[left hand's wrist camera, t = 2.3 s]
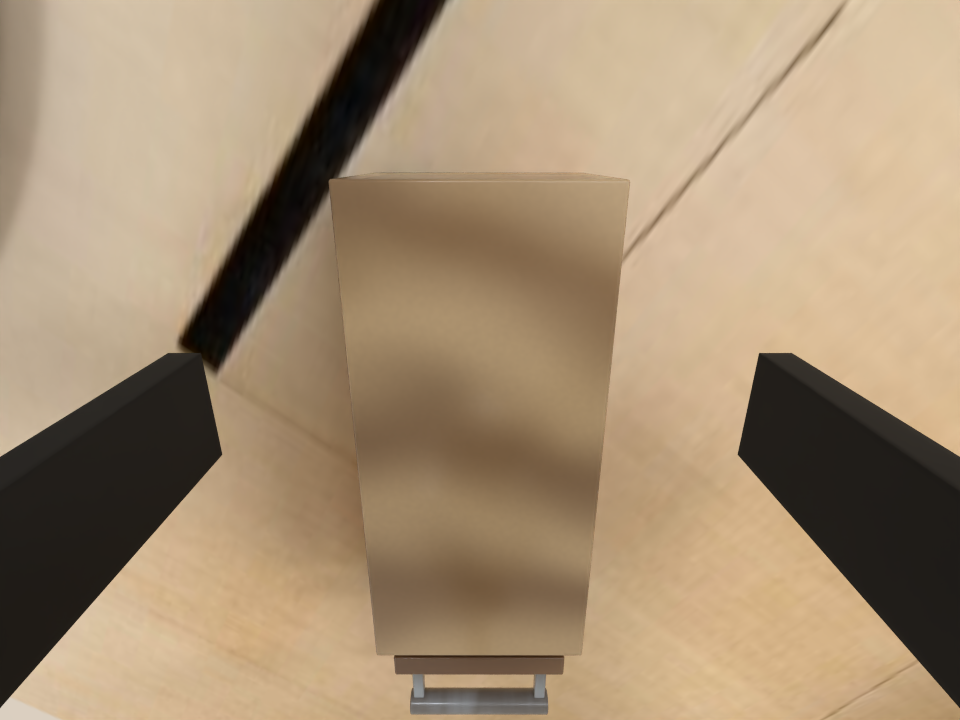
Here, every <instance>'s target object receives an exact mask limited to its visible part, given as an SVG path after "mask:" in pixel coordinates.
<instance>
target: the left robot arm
mask: <svg viewBox="0 0 960 720" xmlns="http://www.w3.org/2000/svg"><path fill="white" fill-rule="evenodd" d="M221 455H222V451H221V446H220V442H219V437H218V432H217V427H216V423H215V418H214V413H213V409H212V404H211V399H210V394H209V390H208V385H207V380H206V375H205V371H204V366H203V361H202V356H201V353H168V354H166V355H164V356H163V357H161V358H160V359H158V360H156V361H155V362H153V363H152V364H150V365H148V366H147V367H145V368H143V369H142V370H140V371H139V372H137V373H135V374H134V375H132V376H130V377H129V378H127V379H126V380H124V381H122V382H121V383H119V384H118V385H116V386H114V387H113V388H111V389H109V390H108V391H106V392H105V393H103V394H101V395H100V396H98V397H96V398H95V399H93V400H92V401H90V402H88V403H87V404H85V405H84V406H82V407H80V408H79V409H77V410H75V411H74V412H72V413H71V414H69V415H67V416H66V417H64V418H62V419H61V420H59V421H58V422H56V423H54V424H53V425H51V426H50V427H48V428H46V429H45V430H43V431H41V432H40V433H38V434H37V435H35V436H33V437H32V438H30V439H28V440H27V441H25V442H24V443H22V444H20V445H19V446H17V447H16V448H14V449H12V450H11V451H9V452H7V453H6V454H4V455H3V456H1V457H0V708H1V706H2V705H3V704H4V703H5V702H6V701H7V700H8V698H9V697H10V696H11V695H12V694H13V693H14V692H15V690H16V689H17V688H18V687H19V686H20V685H21V684H22V682H23V681H24V680H25V679H26V678H27V677H28V676H29V674H30V673H31V672H32V671H33V670H34V669H35V668H36V666H37V665H38V664H39V663H40V662H41V661H42V660H43V658H44V657H45V656H46V655H47V654H48V653H49V652H50V650H51V649H52V648H53V647H54V646H55V645H56V644H57V642H58V641H59V640H60V639H61V638H62V637H63V636H64V635H65V633H66V632H67V631H68V630H69V629H70V628H71V627H72V625H73V624H74V623H75V622H76V621H77V620H78V619H79V617H80V616H81V615H82V614H83V613H84V612H85V611H86V609H87V608H88V607H89V606H90V605H91V604H92V603H93V601H94V600H95V599H96V598H97V597H98V596H99V595H100V593H101V592H102V591H103V590H104V589H105V588H106V587H107V585H108V584H109V583H110V582H111V581H112V580H113V579H114V577H115V576H116V575H117V574H118V573H119V572H120V571H121V570H122V568H123V567H124V566H125V565H126V564H127V563H128V562H129V560H130V559H131V558H132V557H133V556H134V555H135V554H136V552H137V551H138V550H139V549H140V548H141V547H142V546H143V544H144V543H145V542H146V541H147V540H148V539H149V538H150V536H151V535H152V534H153V533H154V532H155V531H156V530H157V528H158V527H159V526H160V525H161V524H162V523H163V522H164V520H165V519H166V518H167V517H168V516H169V515H170V514H171V512H172V511H173V510H174V509H175V508H176V507H177V506H178V504H179V503H180V502H181V501H182V500H183V499H184V498H185V497H186V495H187V494H188V493H189V492H190V491H191V490H192V489H193V487H194V486H195V485H196V484H197V483H198V482H199V481H200V479H201V478H202V477H203V476H204V475H205V474H206V473H207V471H208V470H209V469H210V468H211V467H212V466H213V465H214V463H215V462H216V461H217V460H218V459H219V458H220V457H221ZM738 455H739V457H740V458H741V459H742V460H743V461H744V462H745V463H746V465H747V466H748V467H749V468H750V469H751V470H752V471H753V473H754V474H755V475H756V476H757V477H758V478H759V479H760V481H761V482H762V483H763V484H764V485H765V486H766V487H767V489H768V490H769V491H770V492H771V493H772V494H773V495H774V497H775V498H776V499H777V500H778V501H779V502H780V503H781V505H782V506H783V507H784V508H785V509H786V510H787V511H788V512H789V514H790V515H791V516H792V517H793V518H794V519H795V520H796V522H797V523H798V524H799V525H800V526H801V527H802V528H803V530H804V531H805V532H806V533H807V534H808V535H809V536H810V538H811V539H812V540H813V541H814V542H815V543H816V544H817V546H818V547H819V548H820V549H821V550H822V551H823V552H824V554H825V555H826V556H827V557H828V558H829V559H830V560H831V562H832V563H833V564H834V565H835V566H836V567H837V568H838V570H839V571H840V572H841V573H842V574H843V575H844V576H845V577H846V579H847V580H848V581H849V582H850V583H851V584H852V585H853V587H854V588H855V589H856V590H857V591H858V592H859V593H860V595H861V596H862V597H863V598H864V599H865V600H866V601H867V603H868V604H869V605H870V606H871V607H872V608H873V609H874V611H875V612H876V613H877V614H878V615H879V616H880V617H881V619H882V620H883V621H884V622H885V623H886V624H887V625H888V627H889V628H890V629H891V630H892V631H893V632H894V633H895V635H896V636H897V637H898V638H899V639H900V640H901V641H902V642H903V644H904V645H905V646H906V647H907V648H908V649H909V650H910V652H911V653H912V654H913V655H914V656H915V657H916V658H917V660H918V661H919V662H920V663H921V664H922V665H923V666H924V668H925V669H926V670H927V671H928V672H929V673H930V674H931V676H932V677H933V678H934V679H935V680H936V681H937V682H938V684H939V685H940V686H941V687H942V688H943V689H944V690H945V692H946V693H947V694H948V695H949V696H950V697H951V698H952V700H953V701H954V702H955V703H956V704H957V705H958V706H959V708H960V457H959V456H957V455H956V454H954V453H953V452H951V451H949V450H948V449H946V448H944V447H943V446H941V445H940V444H938V443H936V442H935V441H933V440H932V439H930V438H928V437H927V436H925V435H923V434H922V433H920V432H919V431H917V430H915V429H914V428H912V427H910V426H909V425H907V424H906V423H904V422H902V421H901V420H899V419H898V418H896V417H894V416H893V415H891V414H889V413H888V412H886V411H885V410H883V409H881V408H880V407H878V406H876V405H875V404H873V403H872V402H870V401H868V400H867V399H865V398H864V397H862V396H860V395H859V394H857V393H855V392H854V391H852V390H851V389H849V388H847V387H846V386H844V385H842V384H841V383H839V382H838V381H836V380H834V379H833V378H831V377H830V376H828V375H826V374H825V373H823V372H821V371H820V370H818V369H817V368H815V367H813V366H812V365H810V364H808V363H807V362H805V361H804V360H802V359H800V358H799V357H797V356H796V355H794V354H792V353H759V356H758V361H757V366H756V371H755V375H754V380H753V385H752V390H751V394H750V399H749V404H748V409H747V413H746V418H745V423H744V427H743V432H742V437H741V442H740V446H739V451H738Z"/></svg>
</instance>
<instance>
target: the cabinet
mask: <svg viewBox="0 0 960 720" xmlns="http://www.w3.org/2000/svg"><path fill="white" fill-rule="evenodd" d="M629 186H630V181H629V180H628V179H621V178H614V177H607V176H600V175H593V174H586V173H372V174H364V175H357V176H350V177H343V178H336V179H331V180H329V189H330V198H331V208H332V218H333V228H334V238H335V248H336V258H337V267H338V277H339V287H340V297H341V307H342V317H343V327H344V337H345V346H346V356H347V366H348V376H349V386H350V396H351V406H352V415H353V425H354V435H355V445H356V455H357V465H358V475H359V484H360V494H361V504H362V514H363V524H364V534H365V544H366V554H367V563H368V573H369V583H370V593H371V603H372V613H373V623H374V632H375V642H376V652H377V655H581V654H582V645H583V636H584V626H585V616H586V606H587V597H588V587H589V577H590V567H591V558H592V548H593V538H594V528H595V519H596V509H597V499H598V489H599V479H600V470H601V460H602V450H603V440H604V431H605V421H606V411H607V401H608V392H609V382H610V372H611V362H612V352H613V343H614V333H615V323H616V313H617V304H618V294H619V284H620V274H621V265H622V255H623V245H624V235H625V225H626V216H627V206H628V196H629Z"/></svg>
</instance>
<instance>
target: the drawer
mask: <svg viewBox="0 0 960 720" xmlns="http://www.w3.org/2000/svg"><path fill="white" fill-rule="evenodd" d="M394 663H395V673H396V674H413V688H412V691H411V701H410V712H411V714H514V715H547V714H548V696H547V690H546V688H545V681H546V674H563V667H564V655H394ZM424 674H534V685H533V688H425V678H424Z"/></svg>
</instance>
